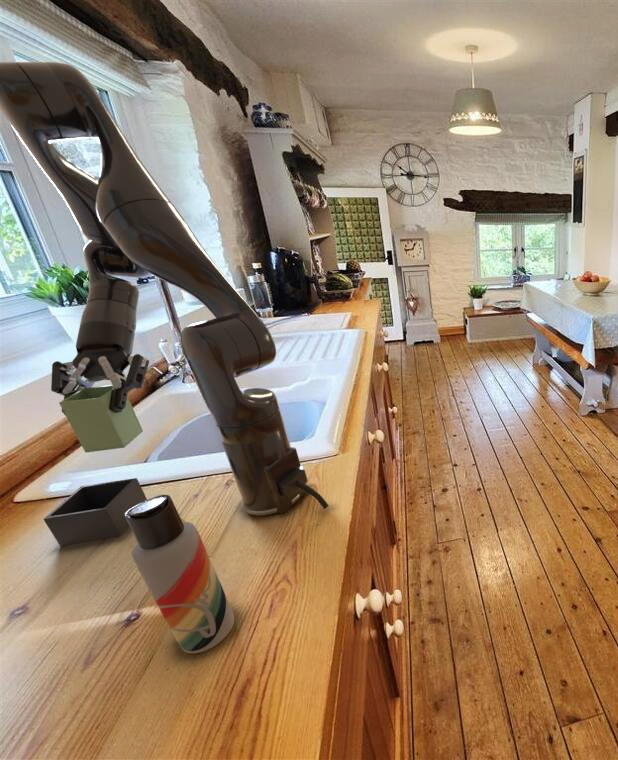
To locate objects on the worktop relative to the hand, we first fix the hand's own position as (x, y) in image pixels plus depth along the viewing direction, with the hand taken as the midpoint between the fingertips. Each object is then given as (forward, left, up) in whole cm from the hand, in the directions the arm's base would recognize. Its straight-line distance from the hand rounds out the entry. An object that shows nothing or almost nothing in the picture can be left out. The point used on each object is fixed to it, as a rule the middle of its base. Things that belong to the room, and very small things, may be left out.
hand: (93, 413), depth 71 cm
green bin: (+1, -2, -7) cm, 7 cm away
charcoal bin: (-7, +8, -16) cm, 20 cm away
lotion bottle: (-41, +19, -16) cm, 48 cm away
